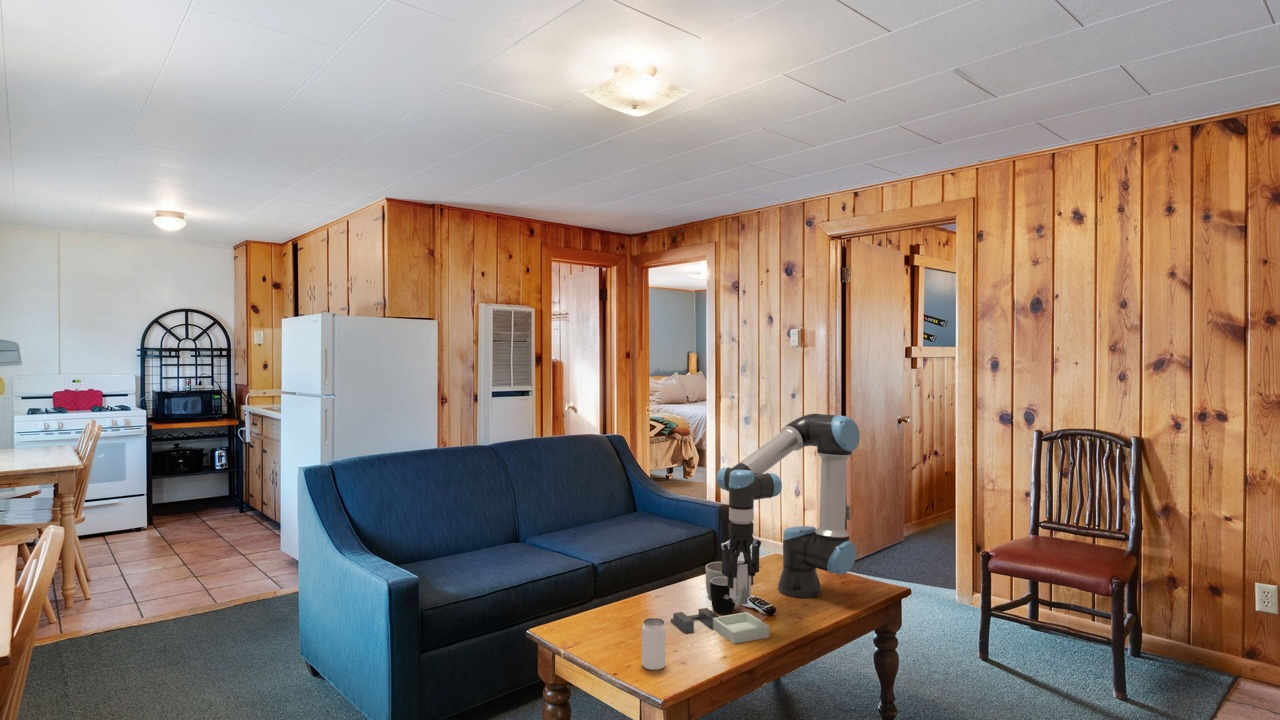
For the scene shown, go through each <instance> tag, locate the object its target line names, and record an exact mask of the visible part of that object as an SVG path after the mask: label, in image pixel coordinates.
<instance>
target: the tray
mask: <svg viewBox="0 0 1280 720" xmlns="http://www.w3.org/2000/svg"><path fill="white" fill-rule="evenodd" d="M712 630H714V631H715V632H716V633H718V634H719V635H721V636H722V637H723V638H725V639H726V640H727V641H729V642H731V643H732V644H733V645H734V644H741V643H746V642H750V641H756V640H762V639H767V638H770V625H768V624H767V623H764V621H762V620H760V619H758V618H757V617H756V616H754V615H752V614H751V613H749V612H747V611H745V612H739V613H733V614H732V613H731V614H725V615H721V616H720V615H719V617H717V618H713V629H712Z"/></svg>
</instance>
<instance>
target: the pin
mask: <svg viewBox="0 0 1280 720" xmlns="http://www.w3.org/2000/svg"><path fill="white" fill-rule="evenodd" d="M734 577H735V578H737V581H736V600H734V599H733V603H735V605H743V606H744V605H747V604H749V597H748V563H747V562H745V561H744V560H738V561H737V566H736V571H735V575H734Z"/></svg>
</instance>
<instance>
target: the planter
mask: <svg viewBox="0 0 1280 720" xmlns="http://www.w3.org/2000/svg"><path fill="white" fill-rule="evenodd" d="M714 577H726V576H725V575H723V574H722V561H713V562H709V563H707V564H706V565H705V587H706V593H707V596H708V597H709V598H710V599H711V593H710V580H711V579H712V578H714Z"/></svg>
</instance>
